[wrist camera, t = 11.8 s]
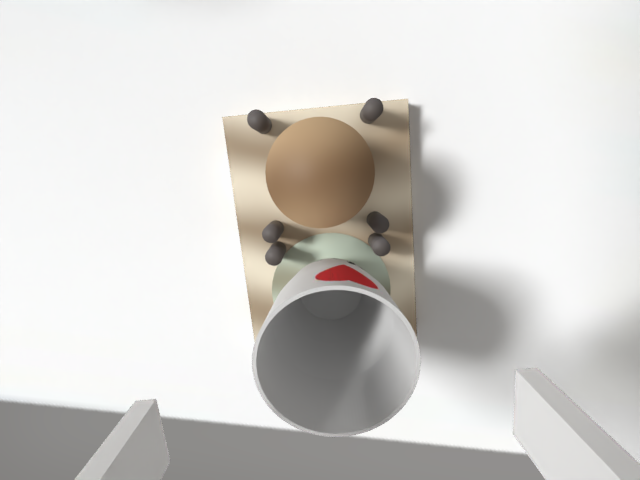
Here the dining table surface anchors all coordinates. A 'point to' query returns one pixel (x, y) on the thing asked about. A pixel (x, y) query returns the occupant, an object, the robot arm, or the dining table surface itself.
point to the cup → (335, 352)
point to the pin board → (334, 242)
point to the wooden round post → (320, 172)
